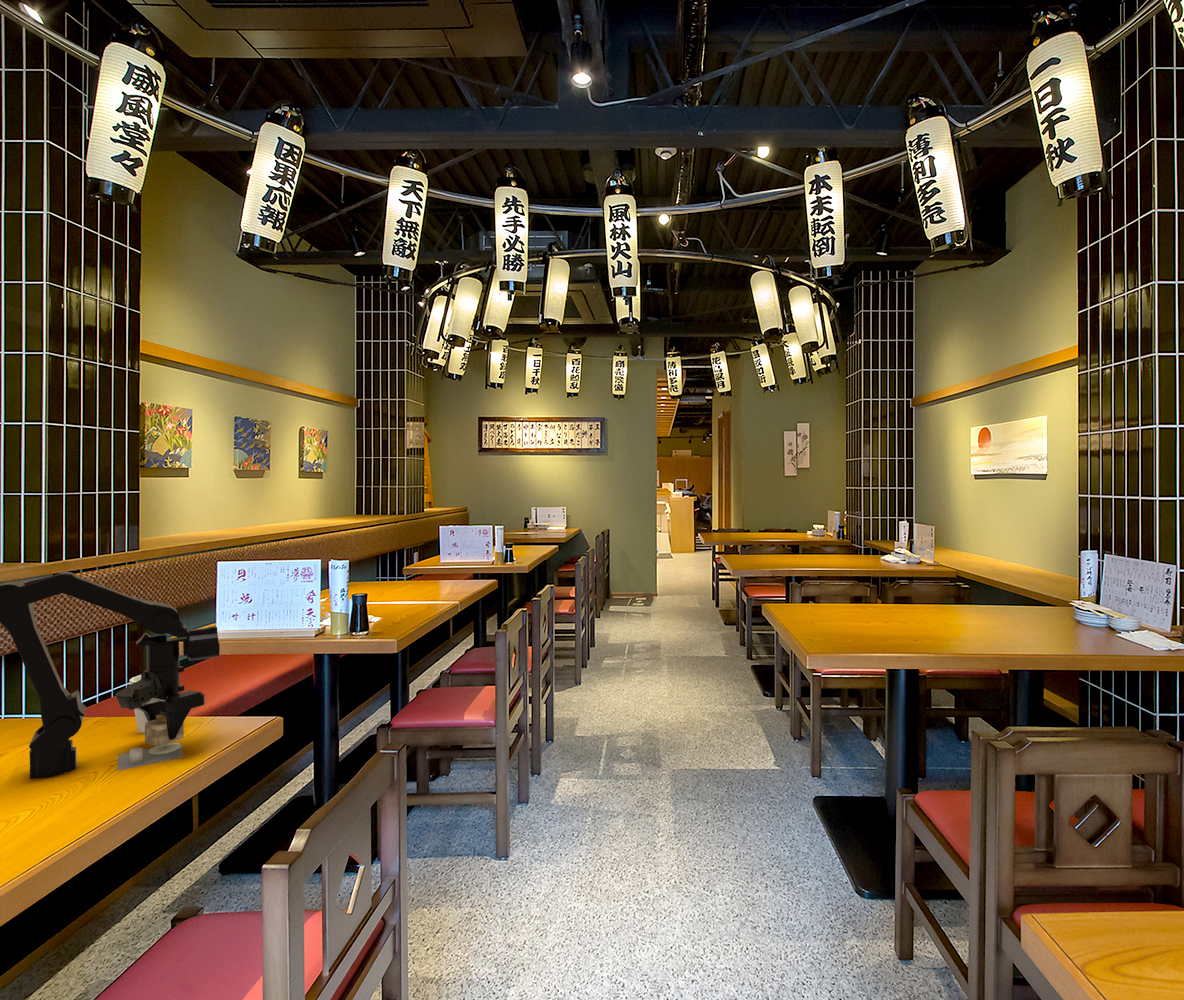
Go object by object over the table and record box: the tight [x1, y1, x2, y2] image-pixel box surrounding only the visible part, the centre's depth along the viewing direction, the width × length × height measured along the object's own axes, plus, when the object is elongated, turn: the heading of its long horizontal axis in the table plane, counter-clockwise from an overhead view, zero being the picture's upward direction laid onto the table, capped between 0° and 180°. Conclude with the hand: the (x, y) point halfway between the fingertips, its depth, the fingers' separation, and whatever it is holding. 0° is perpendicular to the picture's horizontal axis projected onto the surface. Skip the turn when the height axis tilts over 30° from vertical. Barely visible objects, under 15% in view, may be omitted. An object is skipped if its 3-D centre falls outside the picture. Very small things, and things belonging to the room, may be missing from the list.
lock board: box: [116, 742, 184, 772], centre depth 134 cm, size 11×10×4 cm
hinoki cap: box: [144, 714, 185, 746], centre depth 137 cm, size 5×5×5 cm
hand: (164, 737), depth 137 cm, fingers closed on hinoki cap, 5 cm apart
